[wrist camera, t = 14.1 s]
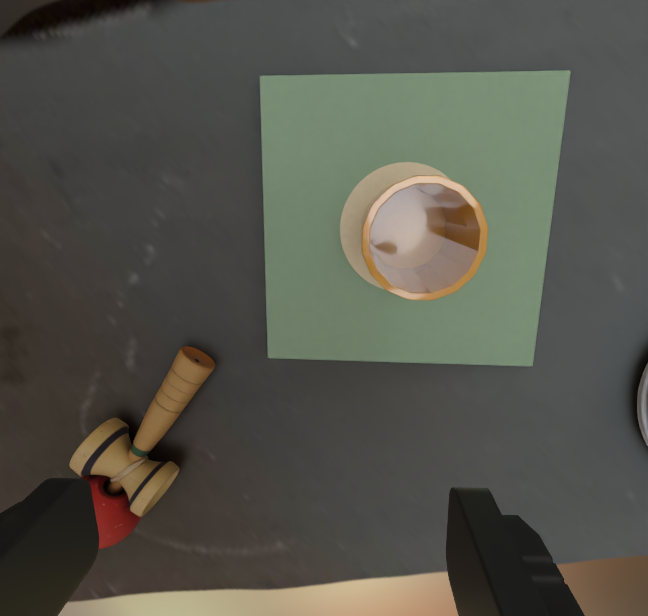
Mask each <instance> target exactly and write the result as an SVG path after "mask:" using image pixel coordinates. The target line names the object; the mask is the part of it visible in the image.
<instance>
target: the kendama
mask: <svg viewBox="0 0 648 616" xmlns="http://www.w3.org/2000/svg"><path fill="white" fill-rule="evenodd" d="M214 368H215V363H214V361H213V360H212V359H211V358H210V357H209V356H208V355H207V354H205V353H204V352H202V351H200V350H198V349H196V348H193V347H188V346H183V347H181V348H180V350H179V352H178V354H177V356H176V358H175V360H174V362H173V364H172V366H171V368H170V370H169V372H168V374H167V376H166V377H165V379H164V381H163V383H162V385H161V387H160V388H159V390H158V392H157V394H156V396H155V398H154V399H153V401H152V403H151V405H150V407H149V409H148V410H147V413H146V414H145V416H144V419H143V421H142V423H141V425H140V427H139V430H138V432H137V434H136V436H135V439H134V441H133V444H131V441H130V438H129V426H128V425H127V424H126V423H124V422H123V421H122V420H120V419H118V418H111V419H109V420H107V421H105V422H104V423H102V424H101V425H100V426H99V427H97V428H96V429H95V430H94V431H93V432H92V433H91V434H90V435H89V436H88V437H87V438H86V439H85V440H84V441H83V442H82V443H81V445H80V446H79V447H78V448H77V450H76V451H75V453H74V455H73V456H72V458H71V461H70V468H71V469H73V470H74V471H75V472H76V473H77V474H79V475H80V476H83V477H82V478H81V479H86V480H87V481H88V482H89V484H90V487H91V491H92V497H93V503H94V508H95V514H96V520H97V526H98V531H99V548H98V549H101V548H106V547H109V546H112V545H114V544H116V543H118V542H120V541H121V540H123V539H124V538H125V537H127V536H128V535H129V534H130V533H131V532H132V531H133V529H134V528H135V527H136V525H137V524H138V522H139V520H140V518H141V516H144V515H145V514H146V513H147V512H148V511H149V510H150V509H151V508H152V507H153V506H154V505H155V504H156V503H157V501H158V500H159V499H160V498H161V497H162V495H163V494H164V493H165V492H166V490H167V489H168V488H169V486H170V485H171V484H172V482H173V481H174V479H175V478H176V476H177V474H178V472H179V467H178V466H177V465H176V464H175V463H173V462H172V461H166V462H156V461H151V460H148V456H147V454H148V453H149V452H150V451H151V450H152V448H153V447H154V446H155V445H156V444H157V443H158V441H159V440H160V439H161V438H162V437H163V436H164V435H165V433H166V432H167V431H168V430H169V428H170V427H171V426H172V424H173V423H174V422H175V420H176V419H177V418H178V416H179V415H180V414H181V412H182V410H183V409H184V408H185V407H186V405H187V404H188V402H189V401H190V400H191V399H192V397H193V396H194V394H195V393H196V392H197V390H198V389H199V388H200V386H201V385H202V383H203V382H204V381H205V380H206V379H207V377H208V376H209V375H210V373H211V372H212V371H213V370H214Z"/></svg>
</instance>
